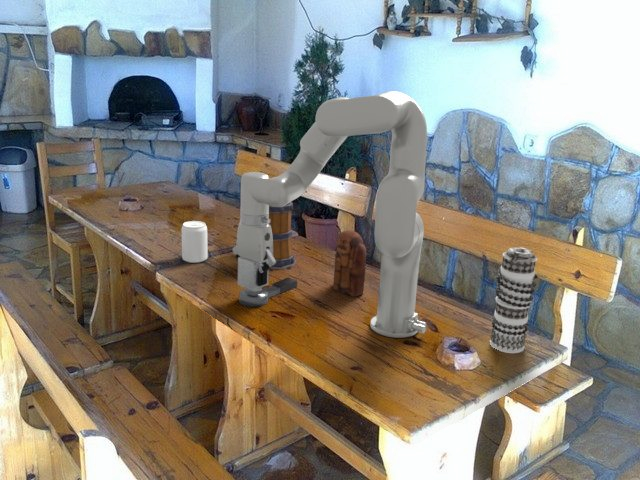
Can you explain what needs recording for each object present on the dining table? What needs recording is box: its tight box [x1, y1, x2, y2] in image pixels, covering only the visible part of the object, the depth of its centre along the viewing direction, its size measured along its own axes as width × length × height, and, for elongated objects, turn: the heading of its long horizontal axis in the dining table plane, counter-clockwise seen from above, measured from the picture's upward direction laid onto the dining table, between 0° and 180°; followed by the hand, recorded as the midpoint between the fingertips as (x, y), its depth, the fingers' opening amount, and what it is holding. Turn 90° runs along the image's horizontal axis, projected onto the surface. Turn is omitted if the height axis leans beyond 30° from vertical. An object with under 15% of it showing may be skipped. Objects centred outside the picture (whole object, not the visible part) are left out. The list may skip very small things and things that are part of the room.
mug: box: [269, 201, 297, 270], centre depth 212 cm, size 19×14×20 cm
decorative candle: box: [489, 246, 539, 354], centre depth 158 cm, size 9×9×25 cm
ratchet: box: [238, 276, 298, 308], centre depth 185 cm, size 8×21×6 cm, turn 142°
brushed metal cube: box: [237, 257, 270, 291], centre depth 178 cm, size 6×6×8 cm
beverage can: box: [181, 220, 209, 264], centre depth 209 cm, size 8×8×12 cm
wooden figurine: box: [332, 229, 367, 297], centre depth 189 cm, size 12×6×18 cm, turn 42°
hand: (253, 280), depth 179 cm, fingers closed on brushed metal cube, 6 cm apart
